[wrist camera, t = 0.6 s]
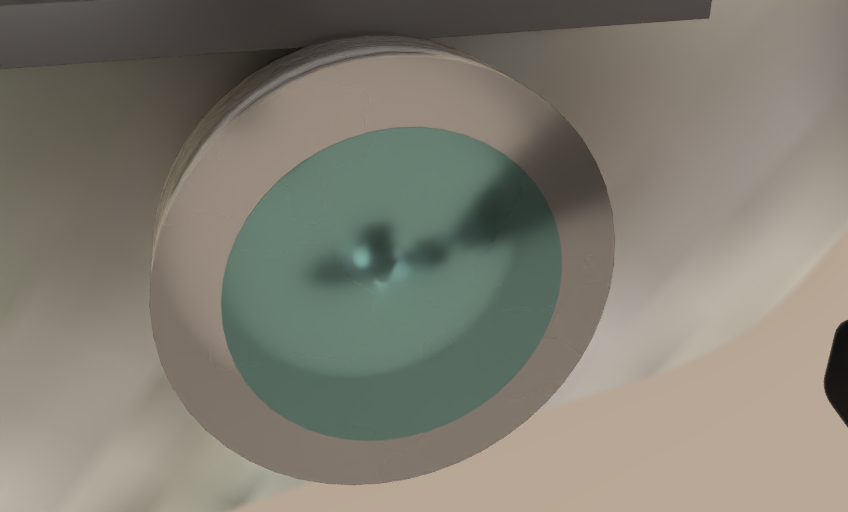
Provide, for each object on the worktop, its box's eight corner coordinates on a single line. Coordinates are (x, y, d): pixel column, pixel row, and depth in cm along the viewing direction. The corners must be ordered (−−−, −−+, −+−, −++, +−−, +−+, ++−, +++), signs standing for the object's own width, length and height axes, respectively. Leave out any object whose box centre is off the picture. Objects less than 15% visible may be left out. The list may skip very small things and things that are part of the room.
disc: (582, 20, 12) (638, 39, 10) (556, 386, 15) (597, 440, 13) (112, 52, 10) (100, 80, 9) (189, 458, 13) (191, 528, 12)
